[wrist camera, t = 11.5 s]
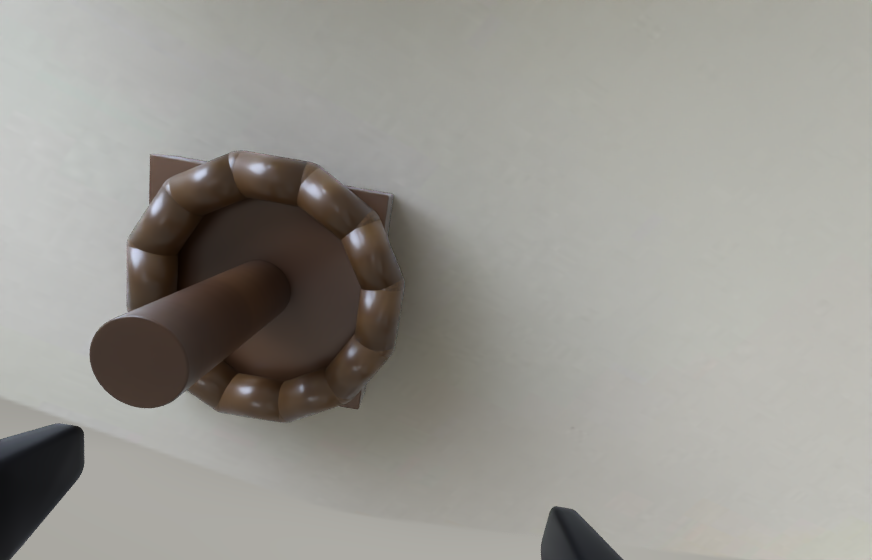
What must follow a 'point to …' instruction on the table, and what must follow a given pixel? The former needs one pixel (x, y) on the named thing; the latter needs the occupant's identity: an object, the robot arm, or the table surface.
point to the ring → (328, 205)
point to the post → (237, 301)
